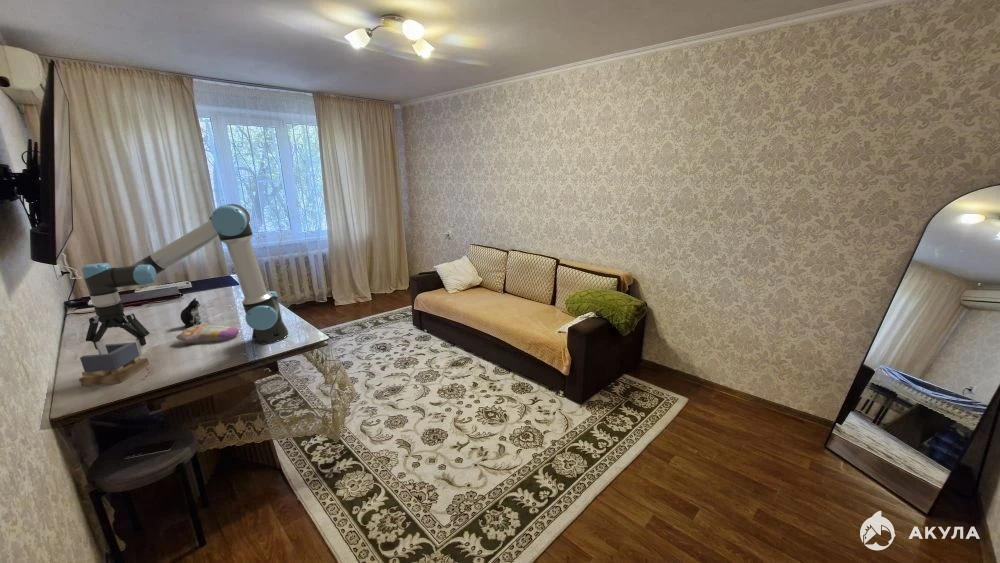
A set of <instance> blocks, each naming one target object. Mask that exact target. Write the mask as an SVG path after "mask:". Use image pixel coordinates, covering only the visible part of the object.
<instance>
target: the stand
mask: <svg viewBox="0 0 1000 563" xmlns="http://www.w3.org/2000/svg"><path fill="white" fill-rule="evenodd" d="M149 365H150V362H149V358H148V357H144V358H143V357H142V358H140V356H138V357H137V358H135V359H133V360H131V361H130V362H128V363H126V364H125V365H123V366H121V367H120V368H118V369H116V370H105V371H92V372H85V371H84V370H83V371H82V372H81V376H82V377H80V378H79V382H80V385H81V386H82V387H87V386H99V385H101V386H102V385H110V384H122V383H123V382H124V381H126V380H128V379H129V378H131V377H132V376H134V375H135V374H137V373H138V372H140V371H141V370H143V369H145V368H146V367H149Z"/></svg>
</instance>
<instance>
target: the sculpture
mask: <svg viewBox="0 0 1000 563" xmlns="http://www.w3.org/2000/svg"><path fill="white" fill-rule="evenodd" d="M239 331H240V330H239V329H238V328H237V327H234V326H227V325H212V324H209V323H207V324H206V323H205V324H202V323H201V324H199V325H196V326H193V327H190V328H185V329H184V330H182V332H181V333H179V334H178V335H176V336H175V337H176V339H177V340H179V341H180V342H182V343H196V342H203V341H209V342H210V341H213V342H214V341H215V342H217V341H225V340H230V339H233V338H235V337H236V336H237V335H238V334H239Z"/></svg>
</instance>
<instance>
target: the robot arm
mask: <svg viewBox="0 0 1000 563" xmlns="http://www.w3.org/2000/svg"><path fill="white" fill-rule="evenodd" d="M250 222H251V216H250V214H249V212H248V210H247V209H246V208H245V207H243V206H241V205H240V204H235V203H229V204H224V205H221V206H218V207H216V208H215V209H214V210H213V212H212V214H211V216H210V217H208V221H207V222H206V221H205V223H202V224H201V225H199V226H198V227H196V228H193V230H190V231H189V232H187V233H185V234H184V235H182V236H181V237H179V238H177V239H175V240H173V241H172V242H170V243H169V244H167V245H165V246H163V247H161V248H160V249H158V250H156V251H155V252H153V253H151V254H149V255H147V256H146V257H144V258H142V259H140V260H139V261H137V262H135V263H133V264H131V265H127V266H120V267H119V266H118V267H112V266H111V265H110V263H109V262H98V263H97V262H96V263H91V264H86V265H83V267H82V268H81V272H82V276H83V280H84V282H85V286H86V287H87V290H88V294H89V297H90V300H91V303H92V305H93V309H94V312H95V316H93V317H89V319H88V321H89V322H88V323H89V326H88V329H87V333H86V337H85V342H92V343H93V345H94V348H95V350H96V351H98V355H100V354H108V352H107V349H106V346H105V345H106V343H105V341H104V339H102V338H103V336H104V335H105V333H106V332H107V330H108V329H111V328H119V329H123V330H125V331H126V332H127V333H129V334H131V335H132V336H133V337H134V338H135V340H134V342H136V345H137V348H138V352H139V355H144V354H145V353H147V352H148V350H147V347H146V345H147V341H146V337H147V336H149V335H150V334H151V333H150V331H149V330H148V329H147V328H146V327H145V326H144V325H143V324H142V323H141V321H139V319H138V318H137V317H136V316H135V314H134V313H133V312H132V313H130V314H125V313H124V310H125V309H124V306H123V303H122V302H121V301H122V299H121V297H120V294H119V290H118V288H123V287H132V286H133V287H134V286H145V285H150V284H154V283H155V282H156V281H157V278H158V274H160V273H161V272H163V271H165V270H166V269H168V268H169V267H172V266H173V265H175V264H177V263H178V262H180V261H182V260H183V259H185V258H187V257H189V256H190V255H192V254H193V253H195V252H197V251H198V250H201V249H202V248H204V247H205V246H208V245H209V244H211V243H213V242H214V241H216V240H218V239H219V241H220V242H222V243H223V244H225V245H226V248H227V250H228V254H229V256H230V259H231V262H232V264H233V268H234V271H235V273H236V276H237V279H238V281H239V282H238V283H239V285H240V288H241V292H242V294H243V296H244V299H242V302H241V303H242V306H243V309H244V310H243V311H244V312H245V316H244V317H245V321H246V324H247V325H248V327H250V328H252V329H253V330H252V335H251V339H252V343H254V344H256V343H257V344H258V345H263V344H262V343H267V344H271V343H270V342H273V343H275V342H274V341H277V340H280V339H282V338H284V337H285V336H287V335H288V334H289V331H288V327H287V326H286V325H285V323H284V321H283V319H282V312H281V307H280V302H279V295H278V293H277V292H276V291H275V290H267V288H266V284H265V281H264V278H263V275H262V272H261V269H260V265H259V263H258V260H257V257H256V254H255V251H254V247H253V245H252V241H251V240H252V237H253V236H254V234H253V231H252V228H251V224H250ZM99 323H100V326H99ZM288 336H289V335H288ZM288 336H287V337H288ZM284 339H285V338H284ZM282 340H283V339H282ZM280 341H281V340H280ZM277 342H278V341H277Z"/></svg>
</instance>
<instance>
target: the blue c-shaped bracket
mask: <svg viewBox="0 0 1000 563" xmlns="http://www.w3.org/2000/svg"><path fill="white" fill-rule="evenodd" d="M105 346H106V349H107V352H108V354H100V355H99V354H91V355H89V354H88V355H81V356H80V357H79V358H80V362H81V364H82V368H83V372H84V371H85V372H92V371H105V370H116V369H118V368H120V367H121V366H123V365H125V364H126V363H128V362H130V361H131V360H133V359H135V358H137V357H138V356H139V357H140V353H139V350H138V347H137V344H136V341H134V342H121V343H120V342H119V343H107V344H106V343H105Z"/></svg>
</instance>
